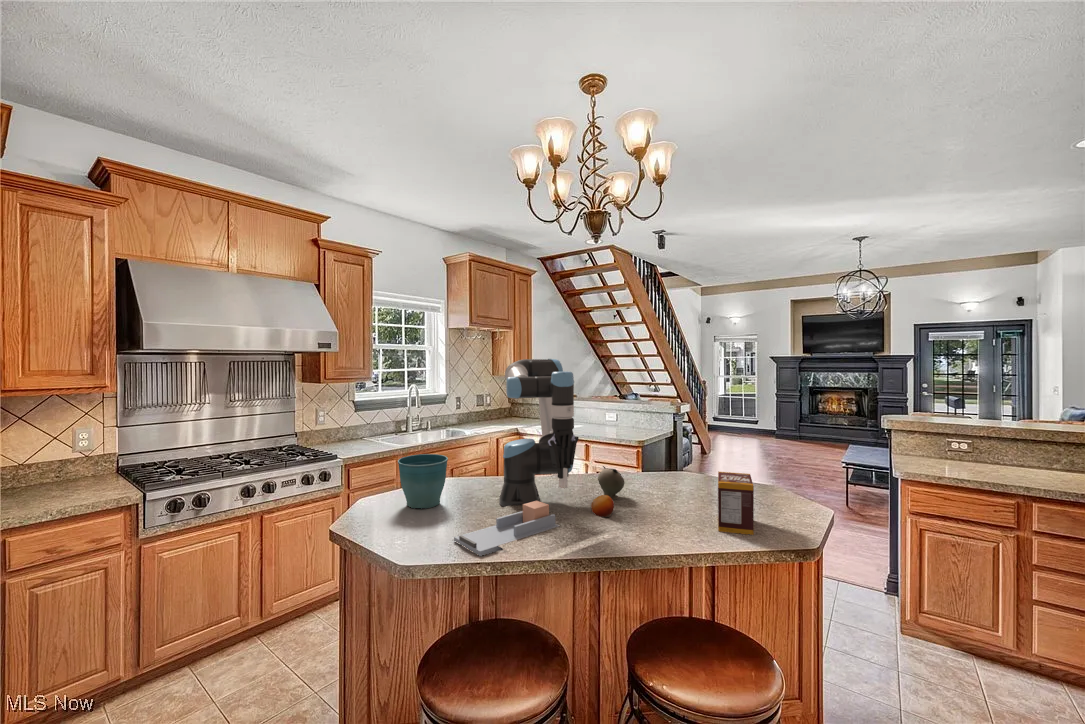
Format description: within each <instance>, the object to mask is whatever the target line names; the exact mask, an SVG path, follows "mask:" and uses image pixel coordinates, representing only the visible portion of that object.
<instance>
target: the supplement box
mask: <svg viewBox="0 0 1085 724" xmlns="http://www.w3.org/2000/svg"><path fill="white" fill-rule="evenodd" d="M717 475H718V476H717V524H718V525H717V527H718V529H717V530H718V531H717V532H722V533H731V534H739V533H741V535H748V534H750V536H754V530H755V529H754V526H755V525H754V517H755V516H754V511H755V509H754V508H755V507H754V506H755V505H754V499H755V498H754V496H755V495H754V494H755V491H754V489H755V487H754V482H753V479H752V477H751V473H744V472H742V473H740V472H729V471H728V472H727V471H718V472H717Z"/></svg>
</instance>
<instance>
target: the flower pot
mask: <svg viewBox="0 0 1085 724" xmlns="http://www.w3.org/2000/svg"><path fill="white" fill-rule="evenodd" d="M448 460H449V458H448V457H447V456H446V455H443V454H438V453H423V454H421V453H420V454H413V455H411V454H410V455H408V456H403V457H401V458H399V459H397V464H398V471H399V480H400V486H401V488H402V489H401V490H402V491H403V494H404V497H405V500H406V506H407V507H408V506H409V507H408V508H410V507H411V509H415V508H421V509H422V508H425V509H431V508H434V507H436V506H438V505H439V504H440V503H441V496H442V492H443V490H444V487H445V483H446V478H447V469H448V468H447V467H448ZM421 509H420V510H421ZM422 510H423V509H422Z"/></svg>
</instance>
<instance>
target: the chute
mask: <svg viewBox="0 0 1085 724" xmlns="http://www.w3.org/2000/svg"><path fill="white" fill-rule="evenodd" d="M495 522H496V523H495V525H491V526H488V527H484V528H480V529H478V530H474V531H471V532H467V533H464V534H460V535H457V536H453V542H454V541H456V542H458V543H460V544H461V545H463V546H465V547H466V548H468V549H469V550H471V551H473V552H474V553H476V554H478V555H479V556H478V555H477V556H478V557H480V556H481V557H483V556H482V555H484V556H486V555H485V554H487V555H490V554H493V553H496V552H499V551H502V550H504V548H503V547H501V546H502V545H505V544H507V543H511V542H514V541H517V540H521V539H524V538H527V537H531V536H533V535H536V534H539V533H542V532H546V531H549V530H552V529H554V528H558V527H560V525H559V524H556V514H549V516H545V517H541V518H538V519H535V520H532V521H529V522H525V523H523V510H522V511H521V510H520V511H518V512H514V513H511V514H507V515H503V516H499V517H496V520H495ZM466 548H465V549H466ZM469 550H468V551H469ZM471 551H470V552H471ZM473 552H472V553H473ZM492 552H493V553H492ZM474 553H473V554H474ZM489 553H490V554H489ZM476 554H475V555H476Z"/></svg>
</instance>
